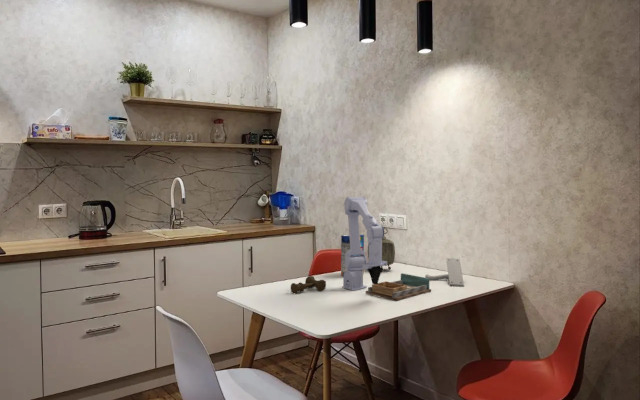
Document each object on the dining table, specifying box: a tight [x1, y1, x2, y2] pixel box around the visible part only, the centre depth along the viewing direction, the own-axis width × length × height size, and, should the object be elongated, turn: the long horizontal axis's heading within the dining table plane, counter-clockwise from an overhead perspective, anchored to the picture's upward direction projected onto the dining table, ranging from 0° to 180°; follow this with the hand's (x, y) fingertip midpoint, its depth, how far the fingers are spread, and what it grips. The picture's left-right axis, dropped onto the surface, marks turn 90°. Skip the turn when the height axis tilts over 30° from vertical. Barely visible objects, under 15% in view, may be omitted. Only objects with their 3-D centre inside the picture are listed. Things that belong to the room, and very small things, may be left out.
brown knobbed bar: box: [290, 275, 327, 295], centre depth 226 cm, size 6×10×20 cm
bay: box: [365, 272, 432, 302], centre depth 223 cm, size 26×18×6 cm
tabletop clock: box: [367, 226, 396, 270], centre depth 274 cm, size 14×9×25 cm, turn 94°
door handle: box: [424, 257, 465, 287], centre depth 247 cm, size 18×8×20 cm
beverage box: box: [340, 233, 365, 277], centre depth 260 cm, size 7×11×22 cm, turn 135°
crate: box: [371, 280, 407, 296], centre depth 218 cm, size 10×12×3 cm
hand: (374, 283), depth 211 cm, fingers closed
